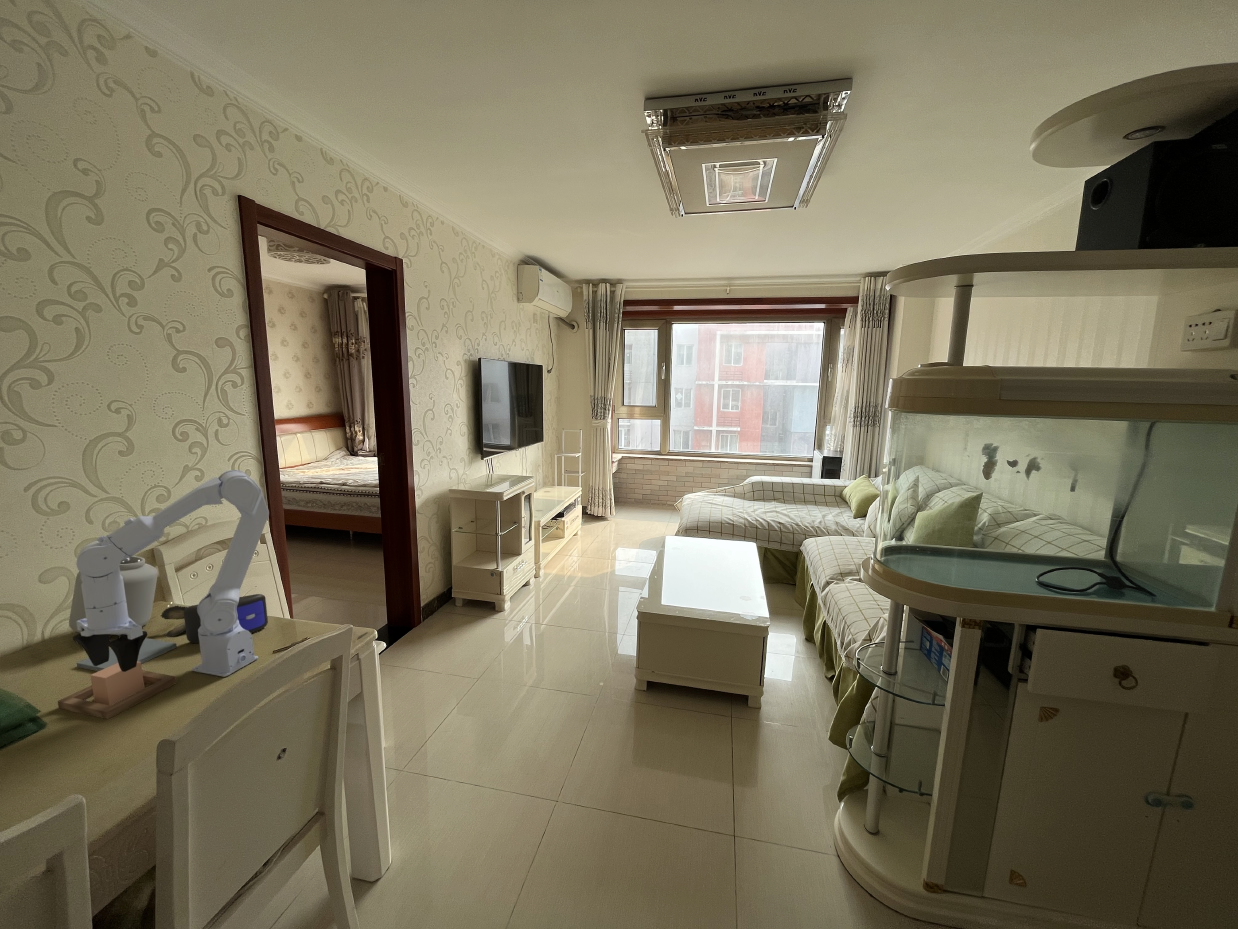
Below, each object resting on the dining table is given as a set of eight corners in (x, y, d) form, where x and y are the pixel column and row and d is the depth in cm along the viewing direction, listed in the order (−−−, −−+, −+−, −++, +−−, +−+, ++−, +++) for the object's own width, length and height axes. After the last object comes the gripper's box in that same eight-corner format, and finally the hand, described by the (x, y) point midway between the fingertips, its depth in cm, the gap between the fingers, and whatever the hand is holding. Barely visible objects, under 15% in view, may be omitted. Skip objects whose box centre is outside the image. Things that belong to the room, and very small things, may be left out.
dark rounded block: (185, 650, 119) (180, 612, 117) (188, 641, 123) (183, 605, 121) (268, 632, 128) (264, 597, 126) (268, 625, 131) (265, 591, 130)
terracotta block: (144, 688, 104) (140, 661, 103) (109, 706, 98) (105, 678, 97) (130, 685, 105) (126, 659, 104) (94, 702, 99) (90, 675, 98)
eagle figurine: (200, 613, 135) (157, 620, 127) (209, 594, 133) (165, 600, 125) (208, 635, 132) (164, 643, 124) (217, 616, 130) (173, 623, 122)
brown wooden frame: (176, 683, 106) (175, 676, 106) (107, 719, 94) (106, 712, 94) (130, 674, 109) (130, 667, 109) (58, 708, 97) (57, 701, 97)
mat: (176, 647, 120) (176, 643, 120) (117, 674, 108) (116, 670, 108) (139, 640, 123) (138, 636, 122) (77, 667, 111) (76, 662, 111)
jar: (172, 607, 141) (161, 522, 137) (175, 626, 130) (162, 534, 126) (74, 629, 128) (59, 535, 124) (68, 651, 117) (50, 549, 113)
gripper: (52, 606, 96) (63, 671, 98) (108, 615, 93) (117, 683, 95) (97, 592, 103) (107, 653, 105) (151, 600, 100) (159, 663, 102)
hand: (115, 666), depth 100 cm, fingers open, 7 cm apart
